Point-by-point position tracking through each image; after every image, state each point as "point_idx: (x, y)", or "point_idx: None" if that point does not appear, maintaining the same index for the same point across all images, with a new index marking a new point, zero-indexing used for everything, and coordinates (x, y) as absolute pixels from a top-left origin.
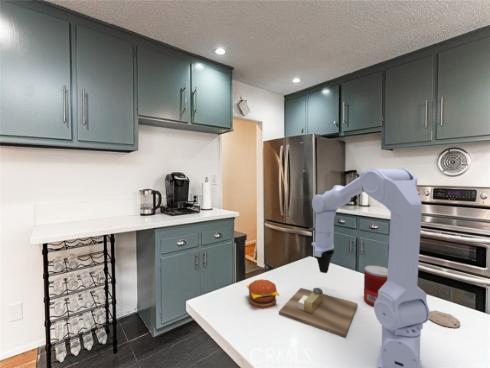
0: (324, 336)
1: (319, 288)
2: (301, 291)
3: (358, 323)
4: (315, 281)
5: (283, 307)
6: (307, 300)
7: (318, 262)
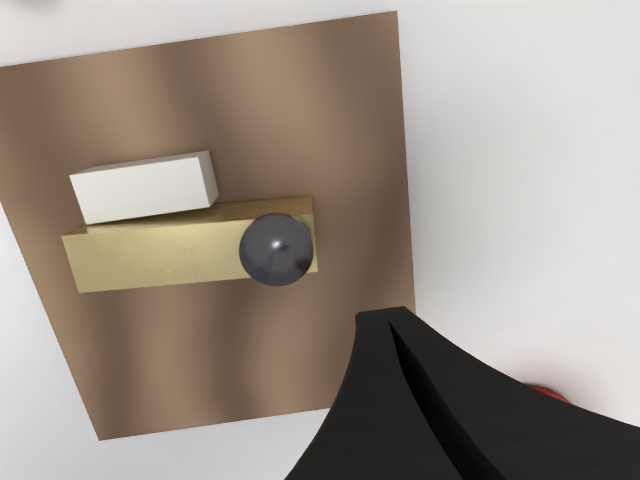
0: (35, 365)
1: (312, 251)
2: (337, 53)
3: (258, 429)
4: (628, 35)
5: (15, 73)
6: (89, 251)
7: (342, 391)
